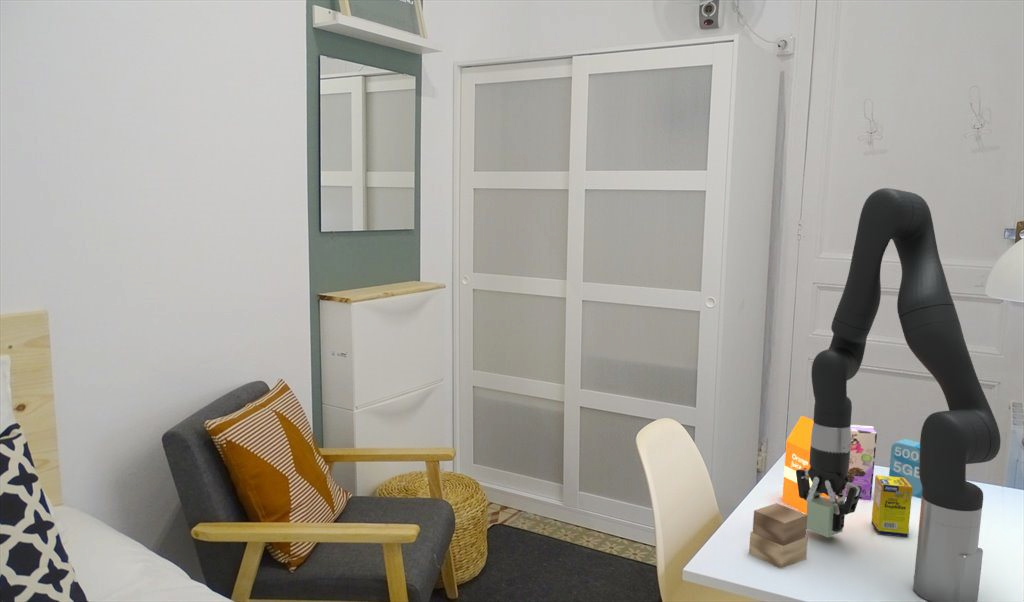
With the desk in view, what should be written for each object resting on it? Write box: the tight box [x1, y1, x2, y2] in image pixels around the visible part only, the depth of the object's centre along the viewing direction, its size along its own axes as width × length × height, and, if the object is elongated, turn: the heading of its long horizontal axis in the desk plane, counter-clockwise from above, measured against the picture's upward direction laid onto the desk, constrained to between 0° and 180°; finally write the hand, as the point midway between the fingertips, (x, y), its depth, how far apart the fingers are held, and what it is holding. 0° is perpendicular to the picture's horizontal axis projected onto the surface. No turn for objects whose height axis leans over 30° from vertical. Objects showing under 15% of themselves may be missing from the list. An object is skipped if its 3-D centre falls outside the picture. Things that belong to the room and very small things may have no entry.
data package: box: [888, 438, 922, 499], centre depth 187 cm, size 12×4×12 cm, turn 40°
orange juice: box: [781, 415, 838, 515], centre depth 177 cm, size 8×9×20 cm
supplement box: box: [871, 474, 913, 538], centre depth 165 cm, size 6×6×11 cm
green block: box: [806, 496, 844, 538], centre depth 161 cm, size 5×5×6 cm
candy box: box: [837, 424, 878, 501], centre depth 186 cm, size 14×6×16 cm, turn 73°
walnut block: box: [752, 503, 808, 546], centre depth 152 cm, size 7×7×4 cm
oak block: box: [748, 530, 808, 569], centre depth 152 cm, size 8×8×4 cm
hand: (824, 525), depth 161 cm, fingers closed on green block, 5 cm apart
